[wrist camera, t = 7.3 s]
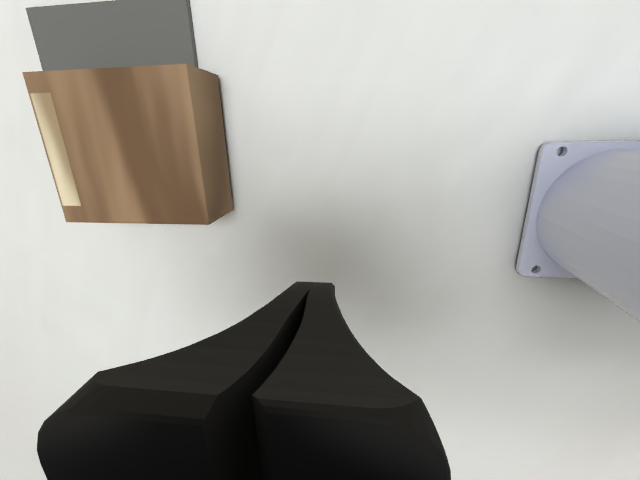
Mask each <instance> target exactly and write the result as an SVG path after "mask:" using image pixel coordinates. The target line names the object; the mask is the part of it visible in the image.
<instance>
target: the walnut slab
mask: <svg viewBox="0 0 640 480" xmlns="http://www.w3.org/2000/svg"><path fill="white" fill-rule="evenodd" d="M23 76H24V79H25V83H26V86H27V89H28V93H29V96H30V100H31V103H32V106H33V110H34V113H35V117H36V120H37V124H38V127H39V130H40V134H41V137H42V141H43V144H44V147H45V151H46V154H47V158H48V161H49V164H50V168H51V171H52V175H53V178H54V182H55V185H56V188H57V192H58V195H59V199H60V202H61V205H62V209H63V212H64V216H65V219H66V222H92V223H148V224H205V225H209V224H211V223H212V222H214V221H216V220H217V219H219V218H220V217H222V216H224V215H225V214H227V213H229V212H230V211H232V210H233V204H232V196H231V187H230V178H229V169H228V160H227V151H226V143H225V134H224V125H223V116H222V107H221V98H220V90H219V81H218V75H216V74H213V73H210V72H208V71H205V70H202V69H199V68H197V67H194V66H191V65H188V64H171V65H152V66H133V67H114V68H95V69H76V70H57V71H37V72H23Z"/></svg>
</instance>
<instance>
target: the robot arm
mask: <svg viewBox="0 0 640 480" xmlns="http://www.w3.org/2000/svg"><path fill="white" fill-rule="evenodd" d="M560 147H562V148H563V152H562V154H561V155H559V156H558V155H557V150H558V148H560ZM534 266H537V269H536V270H534V271H531V269H532V267H534ZM516 270H517V272H518V273H519V274H521V275H522V276H531V277H559V278H578V279H580V280H581V281H583V282H584V283H586V284H587V285H588V286H590V287H591V288H593V289H594V290H596V291H597V292H598V293H600V294H601V295H603V296H604V297H606V298H607V299H608V300H610V301H611V302H613V303H614V304H616V305H617V306H618V307H620V308H621V309H623V310H624V311H626V312H627V313H628V314H630V315H631V316H633V317H634V318H636V319H637V320H639V321H640V140H626V141H563V142H547V143H545V144H543V145H542V146H541V147H540V150H539V153H538V158H537V163H536V168H535V173H534V178H533V183H532V188H531V193H530V199H529V204H528V209H527V214H526V219H525V224H524V229H523V234H522V239H521V244H520V249H519V254H518V259H517V264H516ZM37 452H38V456H39V459H40V463H41V466H42V468H43V470H44V473H45V475H46V477H47V479H48V480H451V472H450V467H449V463H448V460H447V456H446V453H445V450H444V447H443V445H442V442H441V440H440V437H439V435H438V432H437V430H436V428H435V425H434V423H433V421H432V419H431V417H430V415H429V413H428V410H427V408H426V406H425V404H424V403H423V401H422V399H421V398H420V397H419V396H417V395H416V394H415V393H413V392H412V391H410V390H409V389H408V388H406V387H405V386H403V385H402V384H400V383H399V382H398V381H396V380H395V379H393V378H392V377H391V376H390V375H389V374H387V373H386V372H385V371H384V370H383V369H382V368H381V367H380V366H379V365H378V364H377V363H376V362H375V361H374V360H373V359H372V358H371V357H370V356H369V355H368V354H367V353H366V351H365V350H364V349H363V348H362V346H361V345H360V344H359V343H358V341H357V340H356V338H355V337H354V335H353V334H352V332H351V331H350V329H349V327H348V326H347V324H346V322H345V320H344V318H343V316H342V314H341V312H340V309H339V307H338V304H337V301H336V298H335V286H334V285H333V284H332V283H319V282H296V283H294V284H293V285H292V286H290V287H289V288H288V289H286V290H285V291H284V292H283V293H281V294H280V295H279V296H277V297H276V298H275V299H273V300H272V301H271V302H269V303H268V304H267V305H265V306H264V307H262V308H261V309H259V310H258V311H256V312H255V313H253V314H252V315H250V316H249V317H247V318H246V319H244V320H242V321H241V322H239V323H237V324H235V325H233V326H231V327H230V328H228V329H226V330H224V331H222V332H220V333H218V334H215V335H213V336H211V337H208V338H206V339H204V340H201V341H199V342H197V343H194V344H192V345H190V346H187V347H184V348H181V349H179V350H176V351H173V352H170V353H167V354H164V355H161V356H158V357H154V358H151V359H147V360H144V361H140V362H136V363H132V364H128V365H124V366H120V367H116V368H112V369H108V370H104V371H99V372H97V373H96V374H95V375H94V376H93V377H92V378H91V379H90V380H89V381H88V382H86V383H85V384H84V385H83V386H82V387H81V388H80V389H79V390H78V391H77V392H76V393H75V394H73V395H72V396H71V397H70V398H69V399H68V400H67V401H66V402H65V403H64V404H63V405H62V406H60V407H59V408H58V409H57V410H56V411H55V412H54V413H53V414H52V415H51V416H50V417H48V418H47V419H46V420H45V421H44V423H43V425H42V426H41V428H40V430H39V432H38V441H37Z"/></svg>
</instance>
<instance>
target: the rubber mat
mask: <svg viewBox="0 0 640 480" xmlns="http://www.w3.org/2000/svg"><path fill="white" fill-rule="evenodd" d="M26 11H27V14H28V18H29V22H30V25H31V29H32V33H33V36H34V40H35V44H36V47H37V51H38V55H39V58H40V62H41V66H42V69H43V71H57V70H76V69H95V68H114V67H133V66H152V65H171V64H188V65H191V66H194V67H197V68H198V63H197V55H196V48H195V40H194V32H193V25H192V17H191V10H190V2H189V0H115V1H103V2H91V3H79V4H67V5H55V6H43V7H31V8H26Z"/></svg>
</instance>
